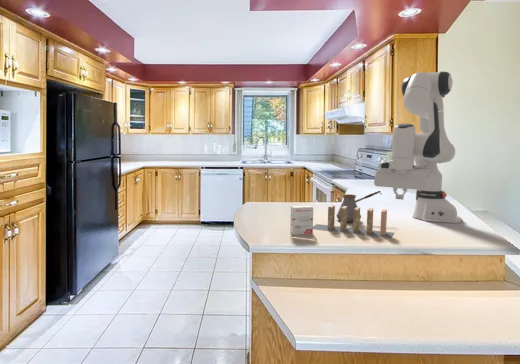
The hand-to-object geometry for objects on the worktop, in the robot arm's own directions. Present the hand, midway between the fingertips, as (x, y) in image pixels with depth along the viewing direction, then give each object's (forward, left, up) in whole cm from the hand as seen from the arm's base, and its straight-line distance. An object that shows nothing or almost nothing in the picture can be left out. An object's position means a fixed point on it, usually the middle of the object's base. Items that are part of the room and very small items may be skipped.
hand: (399, 199), depth 155 cm
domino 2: (+22, 0, -15) cm, 27 cm away
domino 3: (+17, 0, -15) cm, 23 cm away
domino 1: (+28, 0, -15) cm, 32 cm away
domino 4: (+11, 0, -15) cm, 19 cm away
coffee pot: (+20, -22, -16) cm, 34 cm away
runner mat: (+19, 0, -16) cm, 25 cm away
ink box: (+37, +13, -16) cm, 42 cm away
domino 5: (+6, 0, -15) cm, 16 cm away
